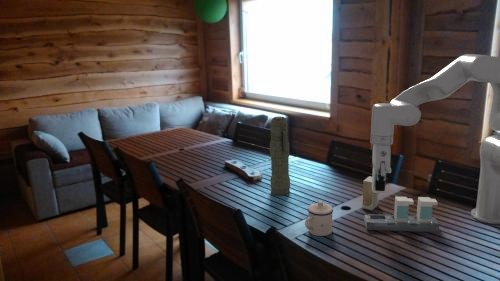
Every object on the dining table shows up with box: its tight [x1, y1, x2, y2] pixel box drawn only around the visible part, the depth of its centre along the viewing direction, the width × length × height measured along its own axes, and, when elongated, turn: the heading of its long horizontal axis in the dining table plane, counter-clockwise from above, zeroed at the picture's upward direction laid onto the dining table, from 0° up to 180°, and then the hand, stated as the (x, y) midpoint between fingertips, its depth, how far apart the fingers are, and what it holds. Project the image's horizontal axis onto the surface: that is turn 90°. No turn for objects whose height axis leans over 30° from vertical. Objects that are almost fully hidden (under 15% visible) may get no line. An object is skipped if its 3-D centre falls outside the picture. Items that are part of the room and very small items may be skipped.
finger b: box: [393, 196, 415, 223], centre depth 146 cm, size 6×5×9 cm
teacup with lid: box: [304, 200, 334, 237], centre depth 145 cm, size 12×9×12 cm
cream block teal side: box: [416, 196, 438, 223], centre depth 145 cm, size 6×5×9 cm
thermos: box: [269, 116, 291, 197], centre depth 181 cm, size 9×12×35 cm
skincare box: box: [362, 176, 379, 211], centre depth 164 cm, size 6×4×12 cm
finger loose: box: [371, 166, 392, 194], centre depth 144 cm, size 6×5×9 cm
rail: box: [363, 213, 441, 233], centre depth 148 cm, size 25×7×3 cm, turn 81°
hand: (378, 187), depth 145 cm, fingers closed on finger loose, 4 cm apart
